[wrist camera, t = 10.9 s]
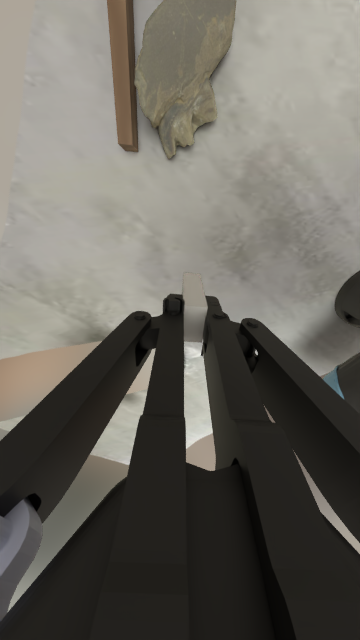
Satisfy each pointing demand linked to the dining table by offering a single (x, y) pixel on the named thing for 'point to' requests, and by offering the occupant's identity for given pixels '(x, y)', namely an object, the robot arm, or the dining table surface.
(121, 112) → the brown wooden l-shaped piece
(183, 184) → the dining table surface
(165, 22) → the jagged rock
